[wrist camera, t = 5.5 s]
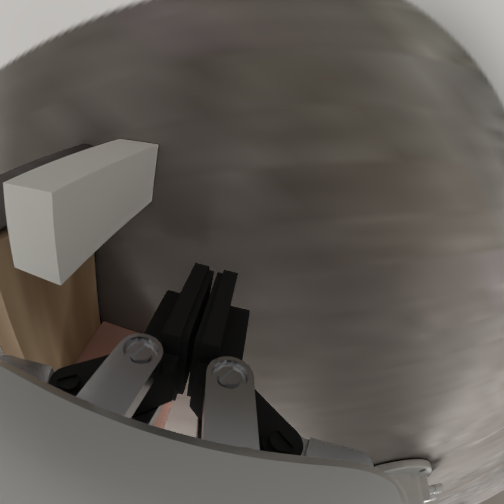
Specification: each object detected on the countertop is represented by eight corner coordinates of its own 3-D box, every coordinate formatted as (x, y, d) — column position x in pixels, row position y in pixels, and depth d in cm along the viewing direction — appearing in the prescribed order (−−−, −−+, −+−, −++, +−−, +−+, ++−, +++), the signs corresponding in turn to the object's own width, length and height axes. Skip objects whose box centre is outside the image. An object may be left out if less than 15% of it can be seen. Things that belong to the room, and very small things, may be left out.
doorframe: (158, 144, 11) (-38, 248, 3) (156, 467, 26) (138, 532, 18) (61, 132, 11) (-112, 205, 3) (115, 453, 26) (92, 515, 18)
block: (176, 343, 16) (145, 425, 11) (172, 399, 19) (151, 467, 14) (104, 320, 16) (58, 390, 11) (113, 380, 19) (84, 441, 14)
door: (100, 145, 11) (-17, 194, 5) (120, 414, 21) (94, 477, 15) (72, 142, 11) (-43, 187, 5) (103, 408, 21) (75, 469, 15)
